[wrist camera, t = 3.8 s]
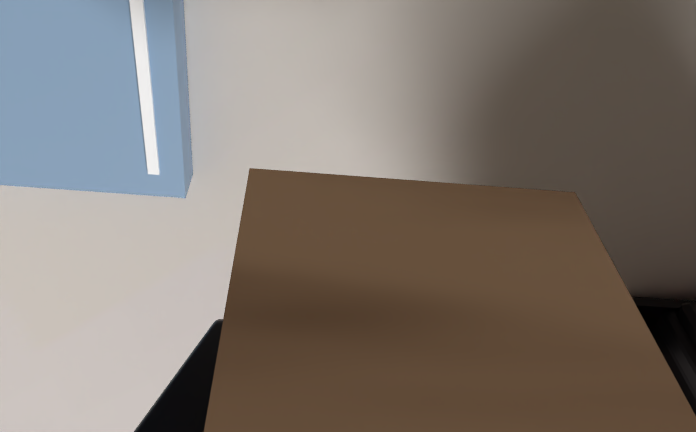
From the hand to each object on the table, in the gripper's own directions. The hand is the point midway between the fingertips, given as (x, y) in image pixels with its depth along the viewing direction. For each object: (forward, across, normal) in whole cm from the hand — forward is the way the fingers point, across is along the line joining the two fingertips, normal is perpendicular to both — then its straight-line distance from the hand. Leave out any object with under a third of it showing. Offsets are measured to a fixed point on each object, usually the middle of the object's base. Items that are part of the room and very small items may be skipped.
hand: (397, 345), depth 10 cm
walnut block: (+1, 0, 0) cm, 1 cm away
